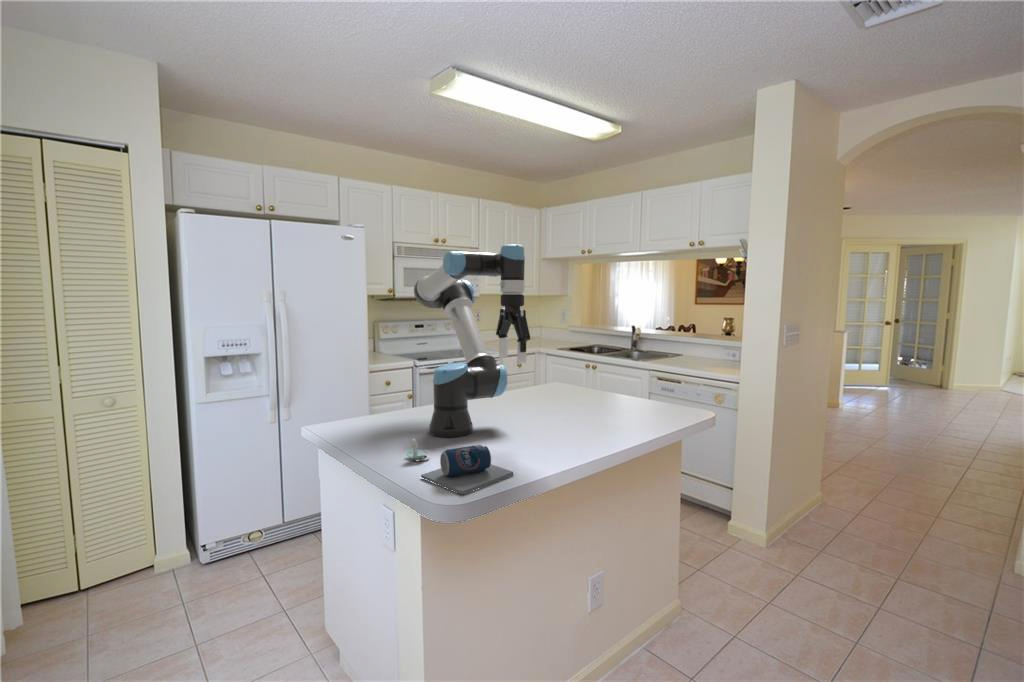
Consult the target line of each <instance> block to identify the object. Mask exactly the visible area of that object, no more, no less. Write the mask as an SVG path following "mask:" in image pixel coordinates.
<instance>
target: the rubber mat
mask: <svg viewBox="0 0 1024 682" xmlns="http://www.w3.org/2000/svg"><path fill="white" fill-rule="evenodd" d="M512 475H513V476H514V471H512V470H509V469H506V468H503V467H500V466H498V465H494V464H492V463H491V465H490V467H489V468H487V469H485V470H484V471H481V472H476V473H470V474H465V475H459V476H454V477H448V476H446V475H444V474H443V472H442V469H441V467H440V468H437V469H434V470H431V471H429V472H426V473H422V474H421V475H420V478H421V477H422V478H424V479H427V480H429V481H432V482H434V483H436V484H439V485H441V486H443V487H446V488H448V489H450V490H453V491H455V492H457V493H459V494H462V495H463V494H465V495H467V494H466V493H468V494H470V493H472V492H471V491H473V490H475V491H477V490H476V489H478V488H480V489H482V488H481V487H483V488H485V487H487V486H486V485H488V486H490V485H492V484H491V483H493V484H495V483H498V482H500V481H502V479H503V480H505V479H507V477H508V478H510V477H509V476H511V477H513V476H512ZM504 478H505V479H504ZM499 480H500V481H499ZM497 481H498V482H497ZM494 482H495V483H494ZM489 484H490V485H489ZM484 486H485V487H484ZM450 490H449V491H450ZM478 490H479V489H478ZM455 492H454V493H455ZM469 492H470V493H469ZM473 492H474V491H473ZM457 493H456V494H457ZM459 494H458V495H459ZM462 495H461V496H462ZM463 496H464V495H463Z"/></svg>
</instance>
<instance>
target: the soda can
mask: <svg viewBox="0 0 1024 682" xmlns="http://www.w3.org/2000/svg"><path fill="white" fill-rule="evenodd" d="M439 458H440V461H439V462H440V463H439V464H440V468H441V469H442V472H443V474H444V475H446V476H448V477H454V476H459V475H465V474H470V473H476V472H481V471H484V470H485V469H487V468H489V467H490V465H491V464H492V455H491V451H490V449H489V448H488V446H486V445H485V446H484V445H481V444H477V445H476V444H475V445H469V446H461V447H455V448H449V449H446V450H444V451H443V452H442V453H441V455H440V457H439Z"/></svg>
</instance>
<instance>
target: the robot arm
mask: <svg viewBox="0 0 1024 682" xmlns="http://www.w3.org/2000/svg"><path fill="white" fill-rule="evenodd" d="M525 260H526V257H525V247H524V245H522V244H517V243H516V244H515V243H514V244H512V243H511V244H509V243H508V244H502V245H501V247H500V252H498V253H497V252H496V253H495V252H476V251H461V250H454V251H453V250H451V251H447V252H446V253H445V254H444V256H443V259H442V264H441V265H440V266H439V267H438V268H436V269H435V270H434V271H432V273H430V274H429V275H425V276H423V277H421V278H420V279H418V280H417V281H416V283H415V284H414V287H413V295H414V297H415V299H416V301H417V302H418V303H419V304H420V305H421V306H423V307H425V308H428V309H443V311H444V314H445V315H446V316H447V317H449V318H450V320H451V323H452V326H453V329H454V331H455V334H456V337H457V340H458V342H459V345H460V347H461V350H462V353H463V356H464V360H465V362H466V363H465V362H454V363H453V362H452V363H448V364H447V363H446V364H444V365H443V364H442V365H440V366H438V367H437V368H435V369H434V371H433V380H432V383H433V413H432V415H431V420H430V423H429V424H428V430H429V431H428V433H429V434H430V435H431V434H433V435H432V436H434V435H435V436H434V437H439V438H456V437H457V438H458V437H463V436H464V437H465V436H467V435H470V434H472V433H473V430H474V427H473V426H474V425H473V422H472V419H471V416H470V412H469V408H468V406H469V405H468V403H469V402H468V401H469V400H470V401H472V400H479V399H480V400H481V399H489V398H490V399H492V398H495V397H500V396H502V395H503V394H504V393H505V391H506V389H507V385H508V372H507V368H506V367H505V365H503V364H501V363H497V361H496V359H495V357H494V356H493V355H491V354H489V352H488V350H487V347H486V344H485V342H484V339H483V336H482V334H481V331H480V329H479V326H478V325H477V322H476V319H475V316H474V315H473V311H472V308H473V307H474V306H473V305H474V304H475V299H476V297H475V290H474V287H473V285H472V284H471V282H470V281H468V280H466V279H463V278H464V277H466V276H478V277H479V276H483V277H484V276H485V277H500V283H499V286H500V293H502V294H501V295H500V305H501V307H502V308H501V307H500V310H499V317H498V321H497V325H496V326H497V327H496V332H495V335H496V336H498V339H499V340H498V341H499V342H498V344H499V345H498V352H499V353H498V355H499V356H498V357H499V358H508V347H509V346H508V338H509V337H508V334H509V329H510V328H511V325H512V326H513V328H514V330H515V334H516V336H517V340H516V342H517V345H516V346H517V347H516V349H517V350H516V353H517V356H516V363H518V364H520V363H521V364H522V363H527V342H528V341H531V335H530V330H529V326H528V325H529V324H528V321H527V314H526V309H521V307H524V306H525V295H524V294H523V293H525ZM503 307H504V308H503Z"/></svg>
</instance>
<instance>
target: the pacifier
mask: <svg viewBox="0 0 1024 682" xmlns="http://www.w3.org/2000/svg"><path fill="white" fill-rule="evenodd" d="M410 445H411V448H408V449H407V451H406V456H407V457H408V458H410V460H412V459H414V460H420V461H419V462H426V461H428V460H430V455H429V454H426V453H425V452H423V451H422V450H420V449H419V446H418V442H417V440H416V439H415V438H412V440H411V441H410ZM425 456H426V457H425Z"/></svg>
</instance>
